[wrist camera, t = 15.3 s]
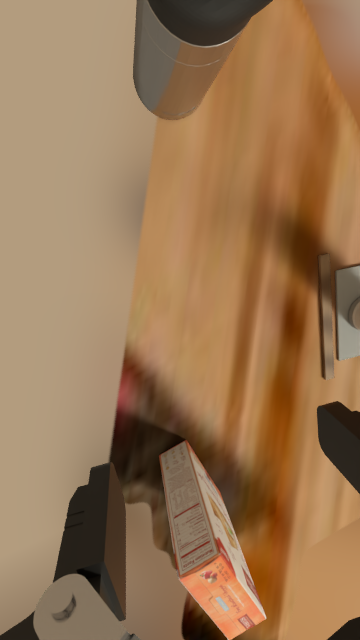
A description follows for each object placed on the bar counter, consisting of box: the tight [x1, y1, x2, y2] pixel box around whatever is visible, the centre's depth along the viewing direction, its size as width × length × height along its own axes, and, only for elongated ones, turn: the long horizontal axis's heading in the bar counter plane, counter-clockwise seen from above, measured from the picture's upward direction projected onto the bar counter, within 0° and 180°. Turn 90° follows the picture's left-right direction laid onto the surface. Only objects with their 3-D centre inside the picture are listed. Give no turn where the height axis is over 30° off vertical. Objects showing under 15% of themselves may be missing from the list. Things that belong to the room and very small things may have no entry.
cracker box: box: [159, 440, 266, 640], centre depth 47 cm, size 14×6×21 cm, turn 28°
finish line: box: [318, 254, 334, 380], centre depth 52 cm, size 22×2×1 cm, turn 10°
